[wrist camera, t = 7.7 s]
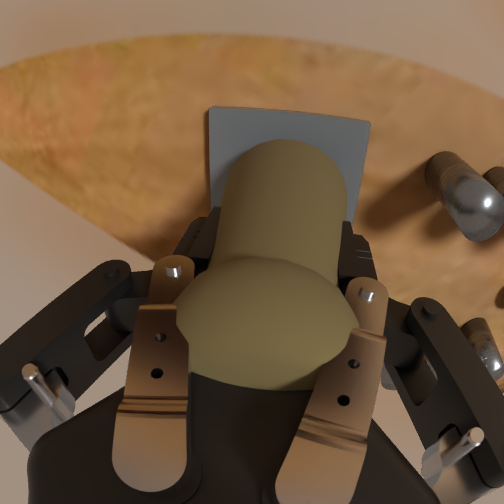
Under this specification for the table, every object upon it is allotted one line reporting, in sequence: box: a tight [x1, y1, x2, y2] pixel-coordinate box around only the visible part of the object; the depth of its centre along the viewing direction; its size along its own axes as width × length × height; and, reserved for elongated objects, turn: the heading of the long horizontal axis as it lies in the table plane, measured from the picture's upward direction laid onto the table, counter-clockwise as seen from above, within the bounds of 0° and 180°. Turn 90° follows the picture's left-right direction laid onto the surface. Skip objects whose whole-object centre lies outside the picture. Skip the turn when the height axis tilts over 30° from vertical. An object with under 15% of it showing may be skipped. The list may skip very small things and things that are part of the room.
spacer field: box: [381, 151, 504, 390], centre depth 16 cm, size 11×15×5 cm
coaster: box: [209, 106, 371, 226], centre depth 17 cm, size 8×8×1 cm
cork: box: [173, 139, 359, 391], centre depth 11 cm, size 6×6×11 cm
